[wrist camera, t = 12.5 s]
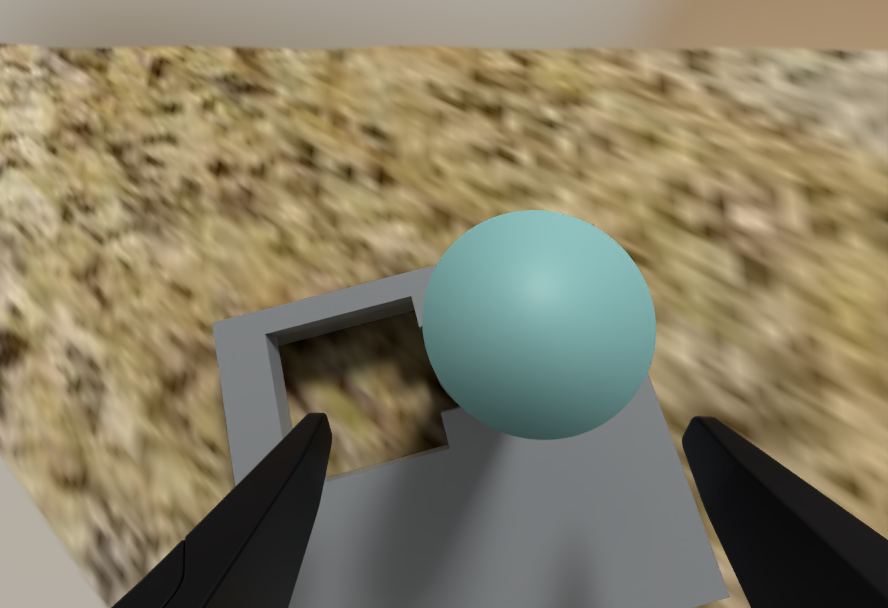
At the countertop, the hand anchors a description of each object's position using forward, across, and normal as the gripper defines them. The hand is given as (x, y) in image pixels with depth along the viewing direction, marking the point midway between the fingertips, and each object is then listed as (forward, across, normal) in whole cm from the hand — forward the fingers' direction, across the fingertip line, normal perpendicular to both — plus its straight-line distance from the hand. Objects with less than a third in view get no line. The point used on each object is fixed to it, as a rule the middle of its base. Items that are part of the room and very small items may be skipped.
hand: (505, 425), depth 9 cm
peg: (+7, 0, +4) cm, 8 cm away
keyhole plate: (+5, +1, +7) cm, 8 cm away
